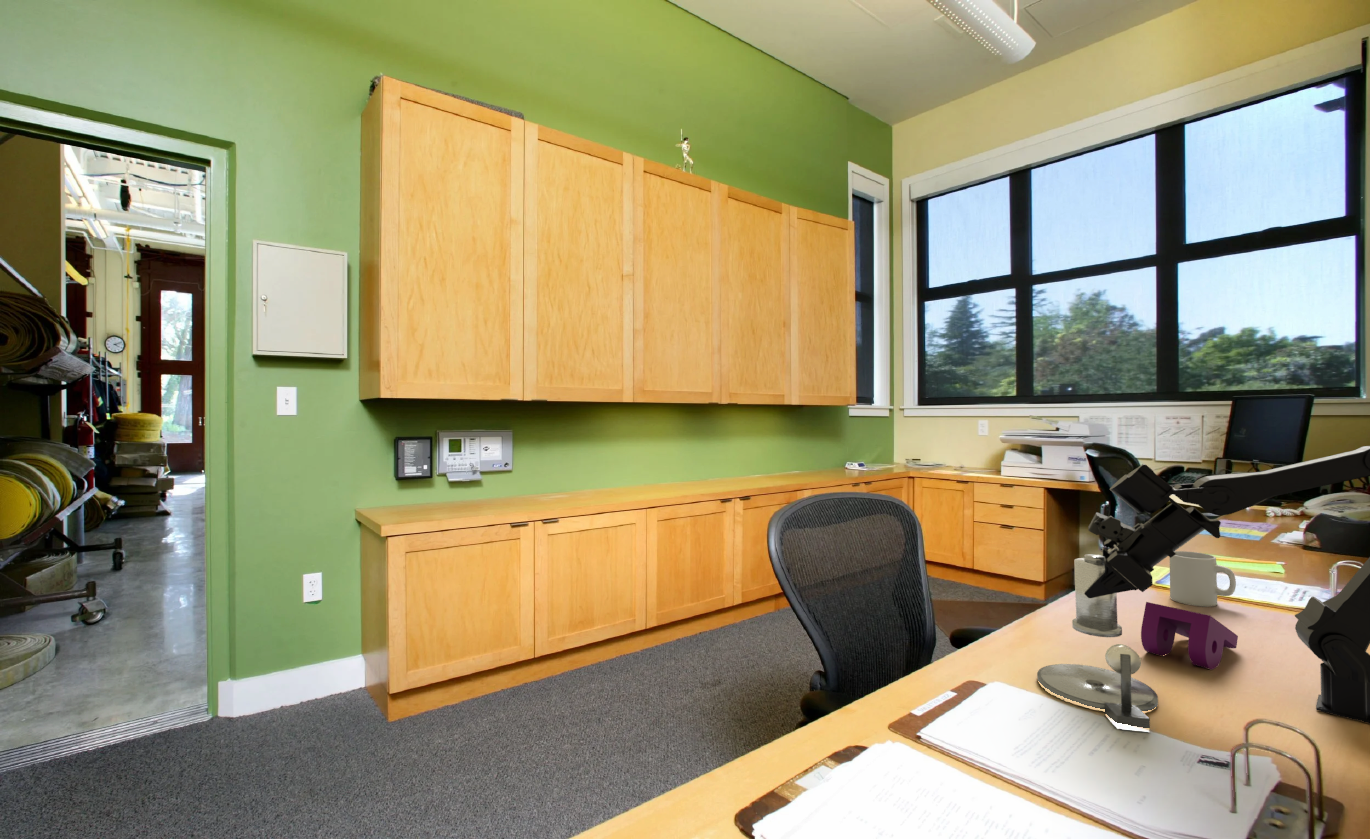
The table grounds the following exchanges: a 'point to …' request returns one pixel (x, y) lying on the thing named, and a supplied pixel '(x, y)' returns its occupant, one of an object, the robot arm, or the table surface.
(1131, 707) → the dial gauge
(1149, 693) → the disc
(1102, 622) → the silver metal cylinder
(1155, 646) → the mounting bracket
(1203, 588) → the mug
